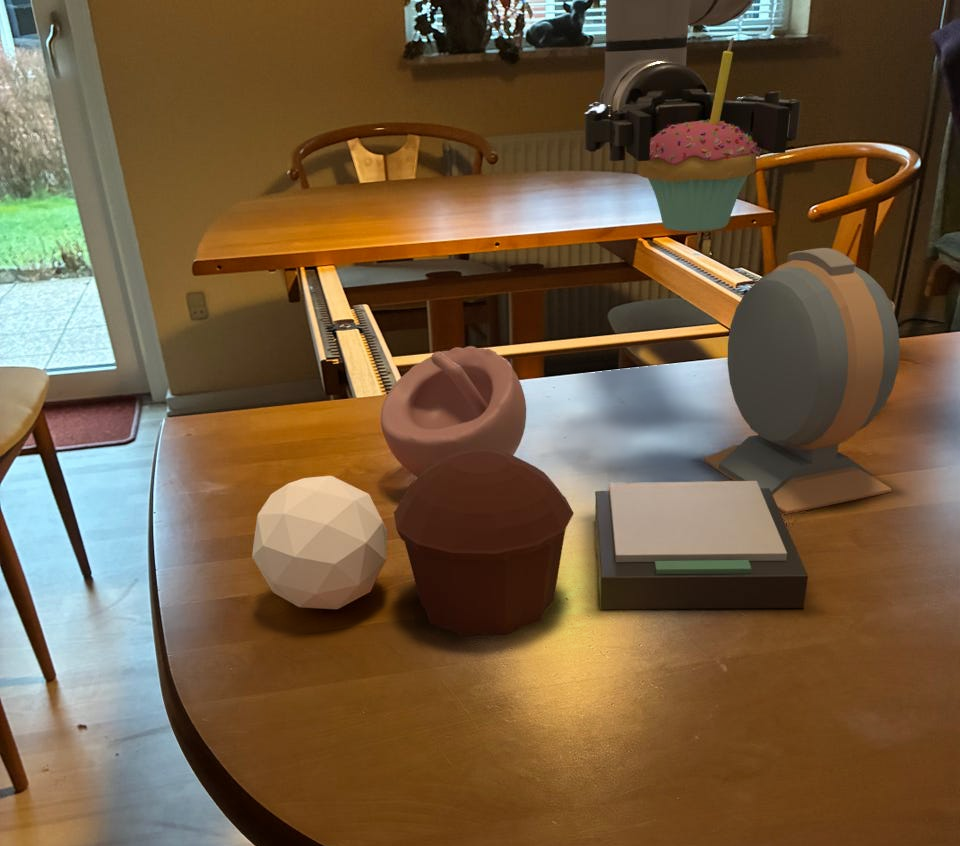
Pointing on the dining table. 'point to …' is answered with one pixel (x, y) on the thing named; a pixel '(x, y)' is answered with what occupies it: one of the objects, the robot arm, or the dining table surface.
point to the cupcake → (700, 166)
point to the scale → (695, 547)
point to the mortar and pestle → (454, 408)
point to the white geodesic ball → (320, 542)
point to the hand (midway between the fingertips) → (713, 134)
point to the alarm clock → (809, 378)
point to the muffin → (484, 541)
